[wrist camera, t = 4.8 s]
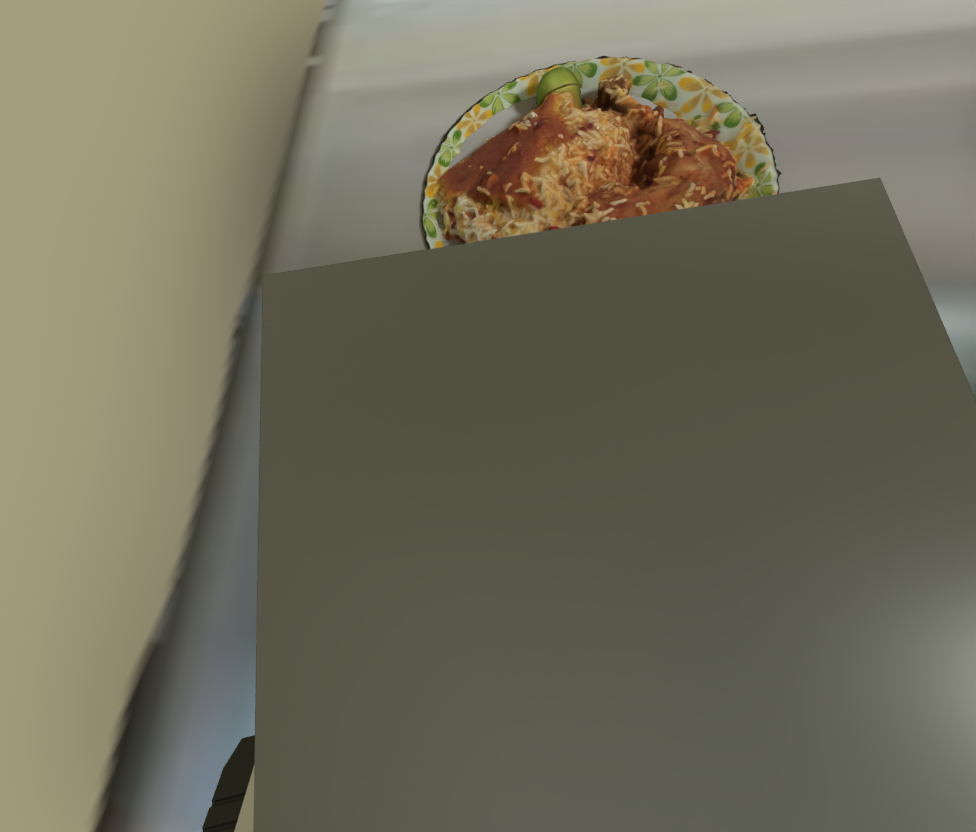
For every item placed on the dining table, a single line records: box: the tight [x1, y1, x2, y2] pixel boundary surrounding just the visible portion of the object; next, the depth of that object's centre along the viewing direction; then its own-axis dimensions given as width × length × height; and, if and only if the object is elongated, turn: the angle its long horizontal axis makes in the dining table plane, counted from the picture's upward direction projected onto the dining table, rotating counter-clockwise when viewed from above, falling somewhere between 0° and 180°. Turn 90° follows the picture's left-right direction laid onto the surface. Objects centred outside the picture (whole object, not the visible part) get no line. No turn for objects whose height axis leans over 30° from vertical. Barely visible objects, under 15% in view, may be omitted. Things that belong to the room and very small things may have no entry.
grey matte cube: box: [253, 178, 976, 832], centre depth 12 cm, size 12×12×11 cm
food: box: [422, 56, 781, 249], centre depth 22 cm, size 18×18×3 cm
